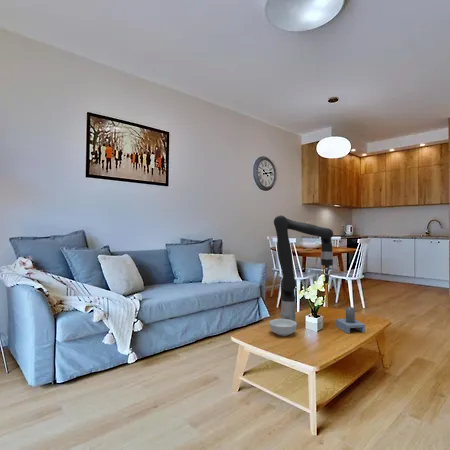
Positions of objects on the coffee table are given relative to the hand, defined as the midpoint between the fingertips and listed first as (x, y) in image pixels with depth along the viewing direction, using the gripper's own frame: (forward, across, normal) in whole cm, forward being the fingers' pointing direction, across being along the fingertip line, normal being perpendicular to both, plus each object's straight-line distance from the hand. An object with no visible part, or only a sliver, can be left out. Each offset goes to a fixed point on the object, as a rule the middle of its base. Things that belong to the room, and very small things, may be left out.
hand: (326, 282), depth 204 cm
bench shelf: (+30, -1, +14) cm, 33 cm away
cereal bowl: (+30, +22, -26) cm, 45 cm away
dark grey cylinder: (+25, -1, +14) cm, 29 cm away
